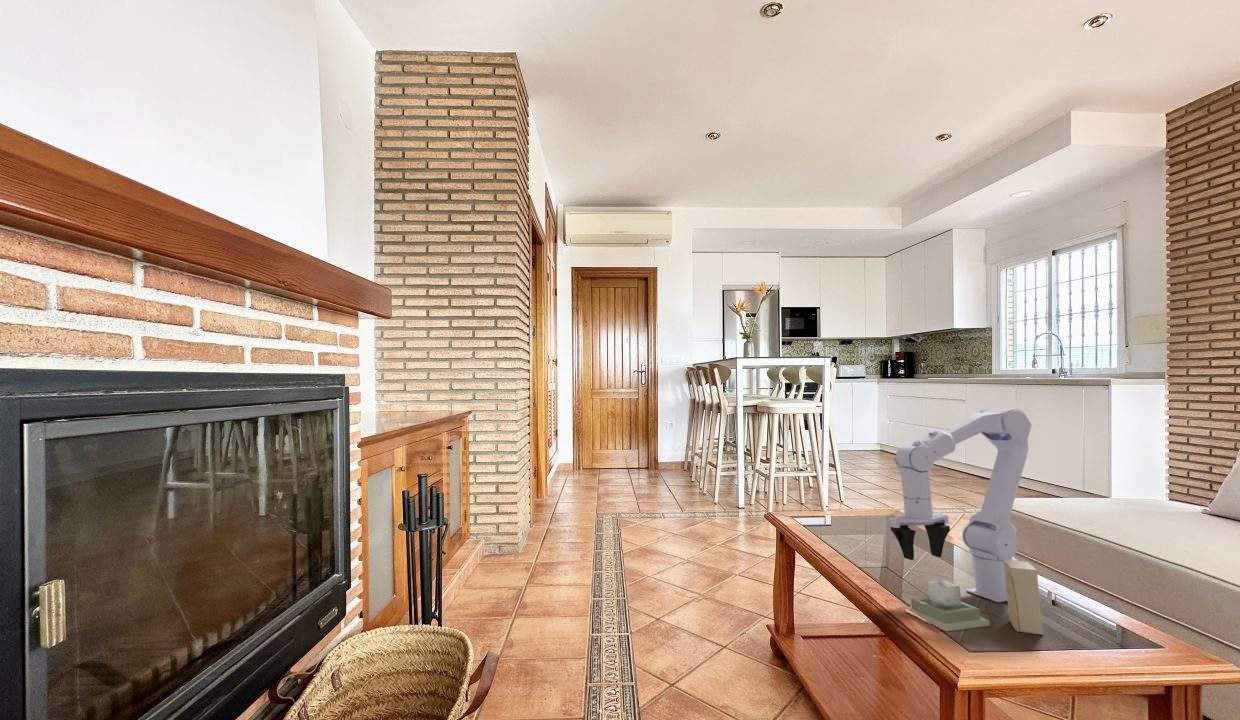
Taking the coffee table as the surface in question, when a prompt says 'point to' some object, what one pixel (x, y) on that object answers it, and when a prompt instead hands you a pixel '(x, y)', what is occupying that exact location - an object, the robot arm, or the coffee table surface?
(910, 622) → the coffee table surface
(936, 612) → the tray
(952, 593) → the aluminium block
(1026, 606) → the skincare box
